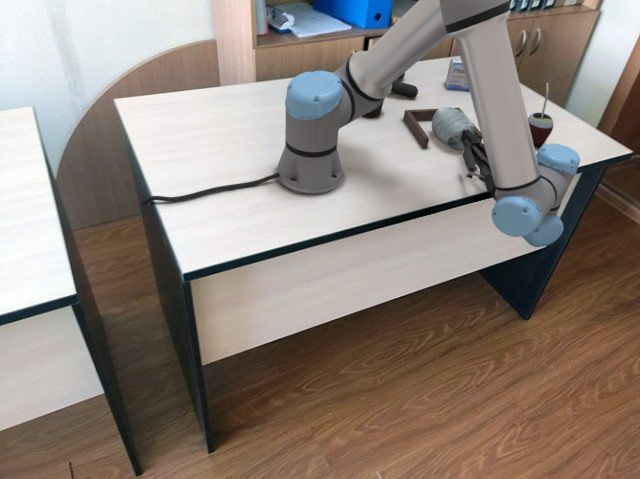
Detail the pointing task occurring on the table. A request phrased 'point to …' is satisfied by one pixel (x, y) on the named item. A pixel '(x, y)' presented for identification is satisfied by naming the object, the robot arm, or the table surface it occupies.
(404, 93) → the gaming controller
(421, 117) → the dock
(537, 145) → the mate gourd
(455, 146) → the grey marbled egg
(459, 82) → the medicine box
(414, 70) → the table surface
